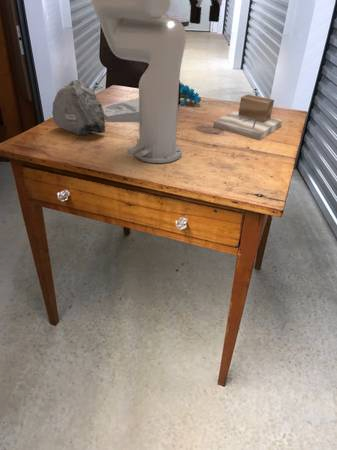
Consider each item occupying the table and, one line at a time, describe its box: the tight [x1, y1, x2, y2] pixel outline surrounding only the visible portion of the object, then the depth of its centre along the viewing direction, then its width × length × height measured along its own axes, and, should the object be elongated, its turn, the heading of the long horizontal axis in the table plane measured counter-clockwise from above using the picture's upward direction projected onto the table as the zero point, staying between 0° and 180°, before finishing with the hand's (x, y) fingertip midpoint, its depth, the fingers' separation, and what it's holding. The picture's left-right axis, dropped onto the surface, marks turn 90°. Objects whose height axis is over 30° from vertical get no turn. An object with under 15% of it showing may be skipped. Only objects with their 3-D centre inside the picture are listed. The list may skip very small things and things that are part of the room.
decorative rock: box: [51, 79, 106, 136], centre depth 100 cm, size 16×7×15 cm, turn 58°
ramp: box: [101, 97, 139, 123], centre depth 118 cm, size 28×16×5 cm, turn 77°
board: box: [212, 109, 283, 141], centre depth 114 cm, size 16×16×2 cm
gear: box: [180, 83, 202, 106], centre depth 131 cm, size 11×6×10 cm
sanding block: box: [238, 94, 275, 123], centre depth 115 cm, size 5×9×6 cm, turn 53°
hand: (204, 22), depth 103 cm, fingers open, 9 cm apart
